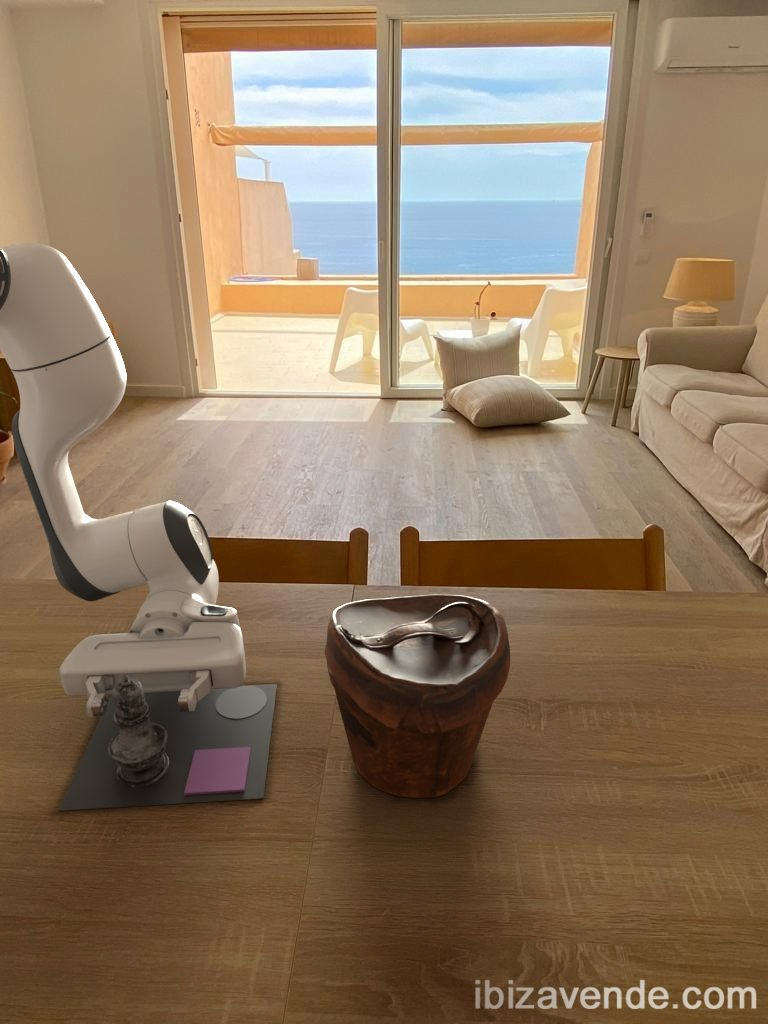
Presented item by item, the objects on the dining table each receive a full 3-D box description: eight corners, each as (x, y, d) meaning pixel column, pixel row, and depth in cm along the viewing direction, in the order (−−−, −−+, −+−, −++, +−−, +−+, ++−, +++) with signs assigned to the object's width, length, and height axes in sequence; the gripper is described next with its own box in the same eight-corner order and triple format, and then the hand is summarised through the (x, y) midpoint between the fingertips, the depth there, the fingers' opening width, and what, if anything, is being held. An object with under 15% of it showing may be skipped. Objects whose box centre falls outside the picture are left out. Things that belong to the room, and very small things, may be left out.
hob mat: (58, 811, 68) (58, 810, 68) (112, 693, 85) (111, 692, 85) (263, 798, 69) (263, 797, 69) (277, 684, 86) (276, 683, 86)
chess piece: (102, 783, 71) (79, 689, 66) (133, 744, 76) (115, 653, 71) (153, 794, 70) (134, 698, 65) (182, 752, 75) (166, 661, 70)
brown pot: (532, 731, 78) (545, 593, 70) (443, 860, 63) (448, 701, 55) (398, 676, 87) (398, 549, 80) (293, 777, 72) (280, 631, 64)
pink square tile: (184, 795, 70) (183, 793, 70) (195, 752, 75) (194, 750, 75) (244, 791, 70) (244, 789, 70) (250, 748, 76) (250, 746, 75)
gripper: (77, 616, 83) (31, 690, 71) (249, 607, 84) (234, 679, 72) (87, 659, 86) (44, 738, 73) (254, 651, 87) (240, 727, 74)
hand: (140, 709), depth 72 cm, fingers open, 8 cm apart
